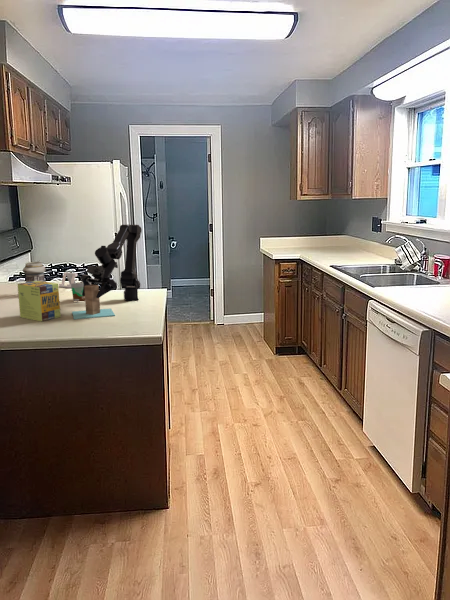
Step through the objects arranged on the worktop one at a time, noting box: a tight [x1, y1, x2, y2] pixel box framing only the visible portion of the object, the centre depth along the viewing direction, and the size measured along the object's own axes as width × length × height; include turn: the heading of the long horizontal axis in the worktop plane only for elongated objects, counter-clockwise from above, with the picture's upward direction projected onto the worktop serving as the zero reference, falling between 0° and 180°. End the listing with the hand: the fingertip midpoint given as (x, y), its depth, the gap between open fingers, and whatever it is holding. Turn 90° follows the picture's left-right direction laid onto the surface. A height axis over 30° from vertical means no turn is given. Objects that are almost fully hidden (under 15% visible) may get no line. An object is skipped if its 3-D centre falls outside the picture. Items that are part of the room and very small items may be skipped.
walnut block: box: [84, 284, 101, 315], centre depth 233 cm, size 4×4×13 cm
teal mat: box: [71, 308, 116, 320], centre depth 235 cm, size 18×14×1 cm
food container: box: [70, 281, 85, 302], centre depth 263 cm, size 12×6×10 cm, turn 168°
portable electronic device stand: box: [58, 271, 78, 289], centre depth 302 cm, size 9×8×8 cm
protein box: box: [17, 281, 61, 322], centre depth 228 cm, size 10×15×16 cm
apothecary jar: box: [22, 261, 47, 283], centre depth 278 cm, size 12×12×18 cm
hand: (89, 296), depth 232 cm, fingers open, 9 cm apart
